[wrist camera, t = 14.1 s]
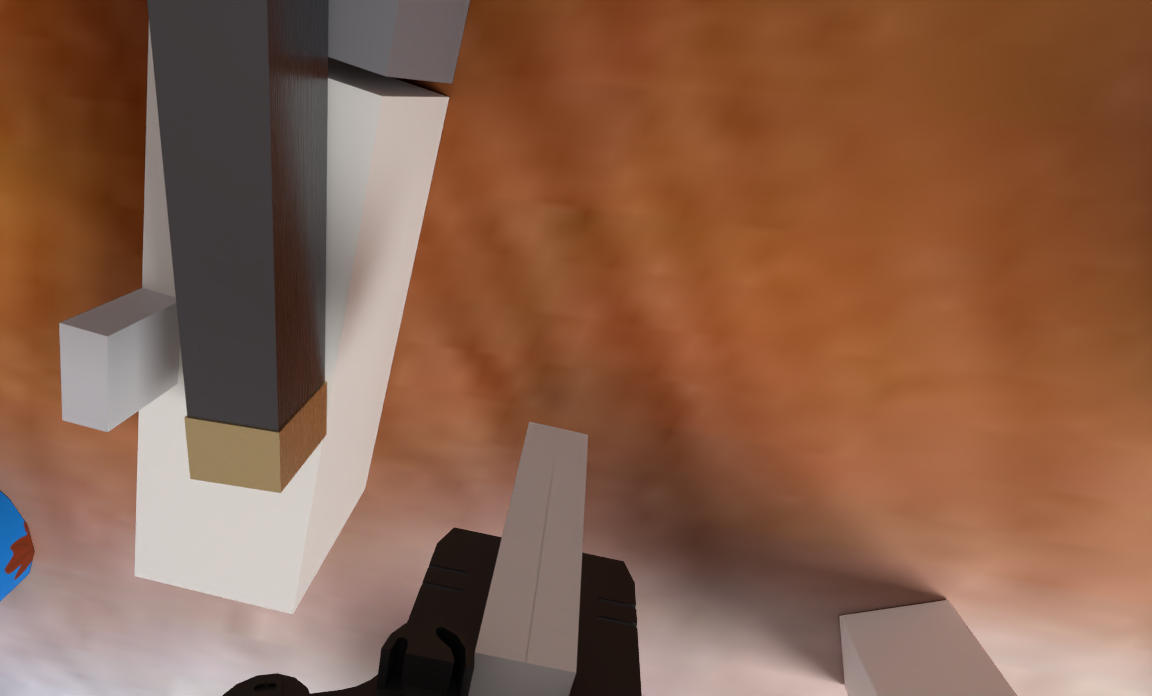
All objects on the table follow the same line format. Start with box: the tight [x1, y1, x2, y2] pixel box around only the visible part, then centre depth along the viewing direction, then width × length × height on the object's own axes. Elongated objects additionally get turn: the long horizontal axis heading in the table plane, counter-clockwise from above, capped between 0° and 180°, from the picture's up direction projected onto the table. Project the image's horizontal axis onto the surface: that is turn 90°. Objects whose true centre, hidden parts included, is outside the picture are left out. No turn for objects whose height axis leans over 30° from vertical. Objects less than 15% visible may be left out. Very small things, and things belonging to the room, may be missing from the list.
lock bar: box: [147, 0, 329, 493], centre depth 15 cm, size 4×16×3 cm, turn 170°
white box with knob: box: [59, 0, 470, 614], centre depth 20 cm, size 6×26×11 cm, turn 162°
